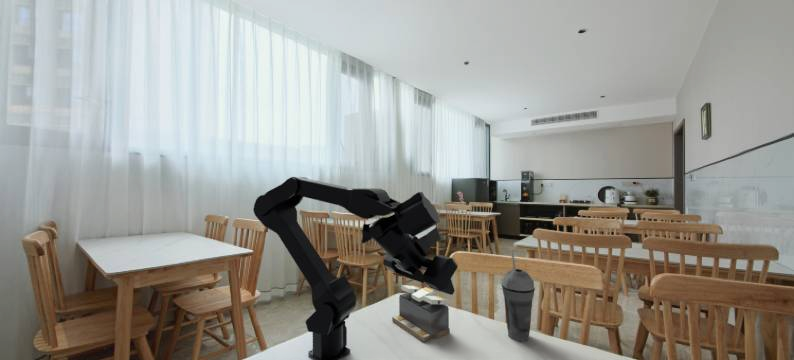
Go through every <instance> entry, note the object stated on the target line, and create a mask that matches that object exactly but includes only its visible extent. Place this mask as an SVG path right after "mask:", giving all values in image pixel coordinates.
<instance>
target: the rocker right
mask: <svg viewBox="0 0 794 360" xmlns="http://www.w3.org/2000/svg"><path fill="white" fill-rule="evenodd" d="M422 300H424V301H426V302H428V303H430V304H444V305H447V299H445V298H443V297H441V296H439V295H432V296H423V299H422Z"/></svg>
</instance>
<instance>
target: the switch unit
mask: <svg viewBox="0 0 794 360" xmlns="http://www.w3.org/2000/svg"><path fill="white" fill-rule="evenodd" d="M411 294H413V293H408V292H405V293H402V294H399V298H398V304H399V307H398V308H399V309H398V310H399V312H398V313H399V315H396V316H395V315H394V316H393V317H392V318H391V321H392V323H394V324H396V325H397V326H399V327H400V328H402V329H403V330H404V331H405V332H407V333H409V334H411V336H413V337H415V338H416V339H418V340H419V341H420V342H422V343H426V342H429V341H432V340H434V339H437V338H439V337H442V336H445V335H448V334H450V330H451V329H450V325H449V324H450V321H449V319H450V318H449V317H450V315H449V314H450V313H449V306H448V305H447V304H430V303H428V302H426V301H424V300H423V301H421V302H419V301H417V300H415V299H413V298H412V296H411Z"/></svg>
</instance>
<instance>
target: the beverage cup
mask: <svg viewBox="0 0 794 360" xmlns="http://www.w3.org/2000/svg"><path fill="white" fill-rule="evenodd" d="M510 252H511V259H512V269H511V270H509V271H507V272H505V274H504V276H503V279H502V284H501V288H502V293H503V298H504V299H503V300H504V309H505V319H506V328H507V334H508V337H509V338H510V339H511V340H514V341H516V342H527V341H529V339H530V337H529V336H530V332H531V320H532V310H533V299H534V295H535V291H536V289H535V285H534V281H533V278H532V276H531V275H530V274H529V273H528V272H526V271H525V270H522V269H519V268H516V260H515V254H514V250H510Z"/></svg>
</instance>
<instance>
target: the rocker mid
mask: <svg viewBox="0 0 794 360" xmlns="http://www.w3.org/2000/svg"><path fill="white" fill-rule="evenodd" d="M434 291H435V290H434V289H432V288H430V287H427V286H425V287H423V288H421V290H419V291H417V292H415V293H413V294H411V296H412V298H413V299H415V300H417V301H419V302H421V301H423V300H422V299H423V296H435V292H434Z"/></svg>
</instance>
